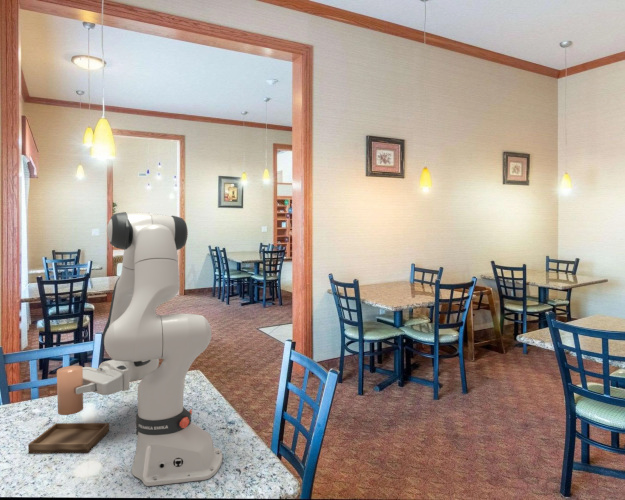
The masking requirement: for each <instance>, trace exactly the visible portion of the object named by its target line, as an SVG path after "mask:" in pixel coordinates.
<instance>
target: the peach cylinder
mask: <svg viewBox="0 0 625 500" xmlns="http://www.w3.org/2000/svg"><path fill="white" fill-rule="evenodd" d="M77 386H83V366H82V365H67V366H62V367H60V368H58V369H57V370H56V387H57V388H56V389H57V393H56V395H57V397H56V398H57V414H58V415H60V416H69V415H75V414H77V413H80V412H82V411H83V410H84V393H81V394H76V393H74V388H75V387H77Z"/></svg>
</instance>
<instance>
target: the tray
mask: <svg viewBox="0 0 625 500" xmlns="http://www.w3.org/2000/svg"><path fill="white" fill-rule="evenodd" d="M109 432H110V423H109V422H77V423H76V422H74V423H73V422H71V423H69V422H68V423H66V422H64V423H63V422H62V423H61V422H60V423H59V422H58V423H55V424H53V425H51V426H50V427H49V428H48V429H47V430H45V431H44V432H42V433H41V434H39V436H37V437H36V438H35V439H33V440H32V441H30V443H28V446H27V447H28V450H27V451H28V454H89V453H90V452H91V451H92V449H93V448H94V447H96V446H97V444H98V443H99V442H101V441H102V440H103V438H105V437H106V436H107V435H108V434H109Z"/></svg>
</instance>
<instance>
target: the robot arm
mask: <svg viewBox="0 0 625 500" xmlns="http://www.w3.org/2000/svg"><path fill="white" fill-rule="evenodd" d="M109 219H110V220H109V221H108V223H107V226H106V236H107V239H108V241H109V244H111V246H112V247H113V248H116V249H119V250H124V251H123V255H122V264H121V265H122V267H121V273H120V276H119V277H118V278H117V280H116V281H115V284H114V287H113V292H112V297H111V302H110V307H109V313H108V317H107V321H106V324H105V327H104V329H103V332H102V340H103V341H102V342H103V345H104V350H105V351H106V353H107V355H108V356H109V357H110V358H111V359H110V360H105V361H103V362H101V363H100V364H99V366H98V367H96V368H95V367H92V366H84V367H83V366H82V367H83V386H77V387H75V388H74V393H76V394H81V393H83V394H87V393H96V394H98V395H102V396H108V395H113V394H116V393H119V392H121V391H122V392H124V391H125V392H126V391H128V390H129V389H130V382H132V383H133V382H137V381H139V380H140V381H139V383H138V385H137V413H136V415H135V416H136V417H135V433H136V436H137V437H136V446H135V455H134V459H133V463H132V465H131V473H132V475H133V476H134V477H135V478H137V479H139V480H141V481H142V483H143V485H144V486H147V487H152V486H162V485H169V484H170V485H172V484H178V483H187V482H188V483H189V482H197V481H203V480H204V481H205V480H209V479H211V478H212V477H213V476H215V475H216V474H217V473H218V471H219V470H220V467H222V463H223V452H222V450H221V449H220V448H219V447H214V446H215V445H214V441H213V438H212V436H211V434H210V433H209V432H208V431H206V430H205V429H203V428H201V427H200V426H199V425H197V424H195V423H194V422H192V414H193V413H192V411H193V410H192V409H193V408H190V410H187V409H186V407H184V393H185V392H184V391H185V390H184V389H185V381H186V376H187V374H188V371H189V369H190V367H191V366H192V364H193V362H195V360H196V359H197V358H198V357H199V355H201V354H202V353H203V352H204V351H206V349H207V348H208V347H209V345H210V343H211V340H212V332H213V331H212V327H211V324H210V322H209V320H208V319H207V318H206V317H205V316H204V315H202V314H195V313H194V314H193V313H187V312H186V313H173V314H172V313H171V314H162V315H161V314H157V309H158V307H159V306H161V305H163V304H164V303H165V304H166V303H167V302H169V301H170V300H172V299H173V298H174V297H176V295H178V293H179V292H180V291H179V290H180V286H181V285H180V271H179V259H178V251H180V250H181V249H183V248H184V247H185V246H186V244H187V240H188V238H189V237H188V236H189V231H188V226H187V223H186V221H185V220H184V218H182V217H180V216H176V215H164V214H159V213H158V214H157V213H150V212H128V213H127V212H125V211H123V212H118V213H117V212H116V213H114V214H112V216H111V217H110V218H109ZM160 360H162V362H161V364H160Z"/></svg>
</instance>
